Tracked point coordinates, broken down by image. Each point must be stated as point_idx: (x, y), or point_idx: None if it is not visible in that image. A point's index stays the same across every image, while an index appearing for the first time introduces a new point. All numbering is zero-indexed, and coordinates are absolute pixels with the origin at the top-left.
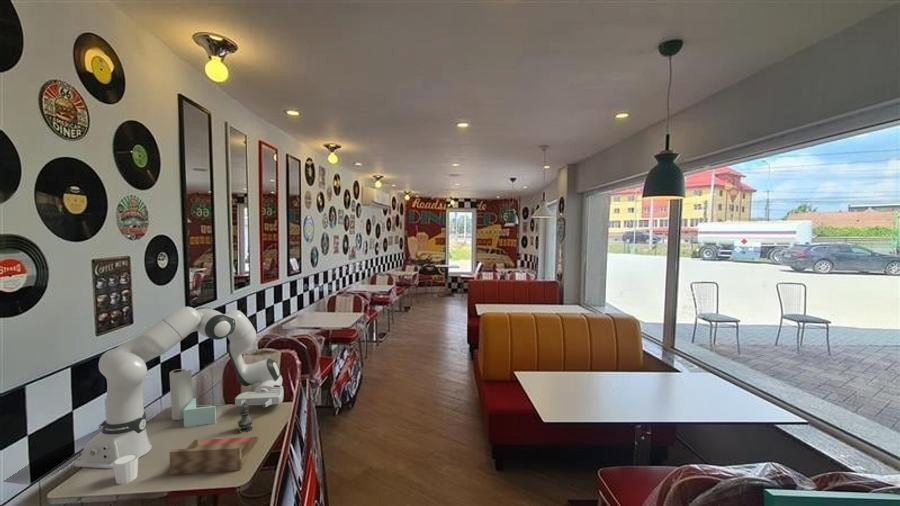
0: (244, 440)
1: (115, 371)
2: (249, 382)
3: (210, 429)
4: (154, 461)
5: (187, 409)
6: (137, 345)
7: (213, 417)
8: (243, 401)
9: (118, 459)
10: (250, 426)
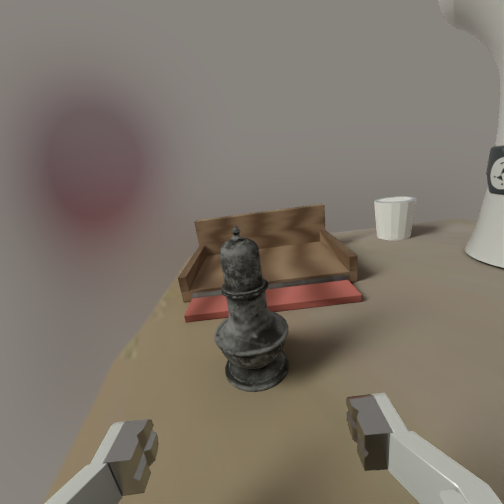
0: (224, 301)
1: None
2: None
3: (453, 360)
4: (406, 253)
5: None
6: None
7: None
8: (450, 496)
9: (408, 198)
10: (238, 376)
